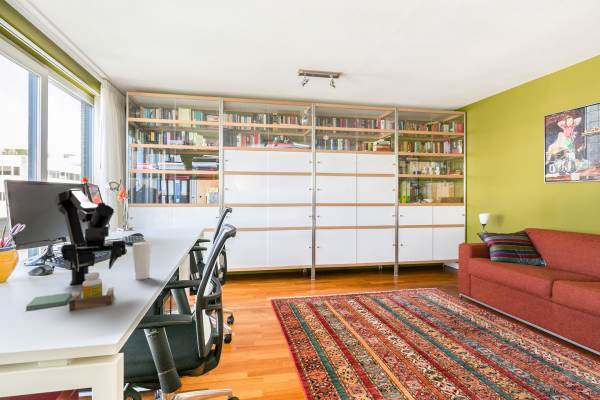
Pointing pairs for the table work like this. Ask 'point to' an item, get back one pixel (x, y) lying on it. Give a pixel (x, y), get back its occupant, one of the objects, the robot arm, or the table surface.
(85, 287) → the supplement bottle
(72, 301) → the frame
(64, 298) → the green mat
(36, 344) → the table surface
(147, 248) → the white tall cylinder
